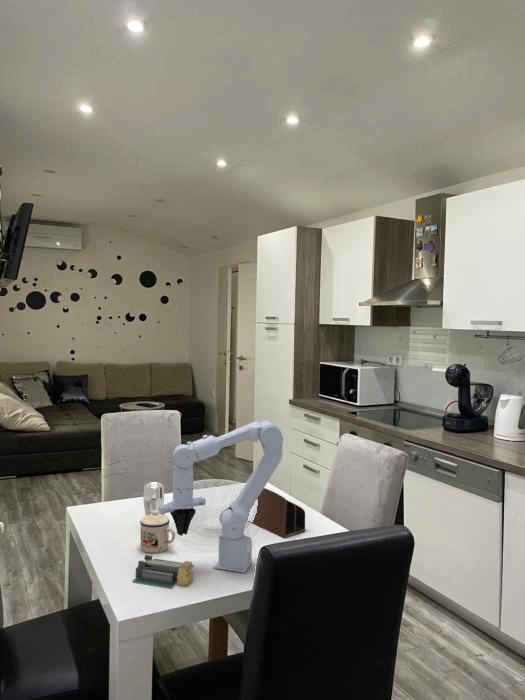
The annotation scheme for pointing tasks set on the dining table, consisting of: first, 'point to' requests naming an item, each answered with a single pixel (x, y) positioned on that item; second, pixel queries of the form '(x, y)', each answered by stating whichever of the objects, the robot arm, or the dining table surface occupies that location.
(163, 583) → the block
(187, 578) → the clip
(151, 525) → the teacup with lid
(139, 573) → the grey forked bracket
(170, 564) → the grey long flat bar
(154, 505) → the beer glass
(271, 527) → the letter holder
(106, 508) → the dining table surface
